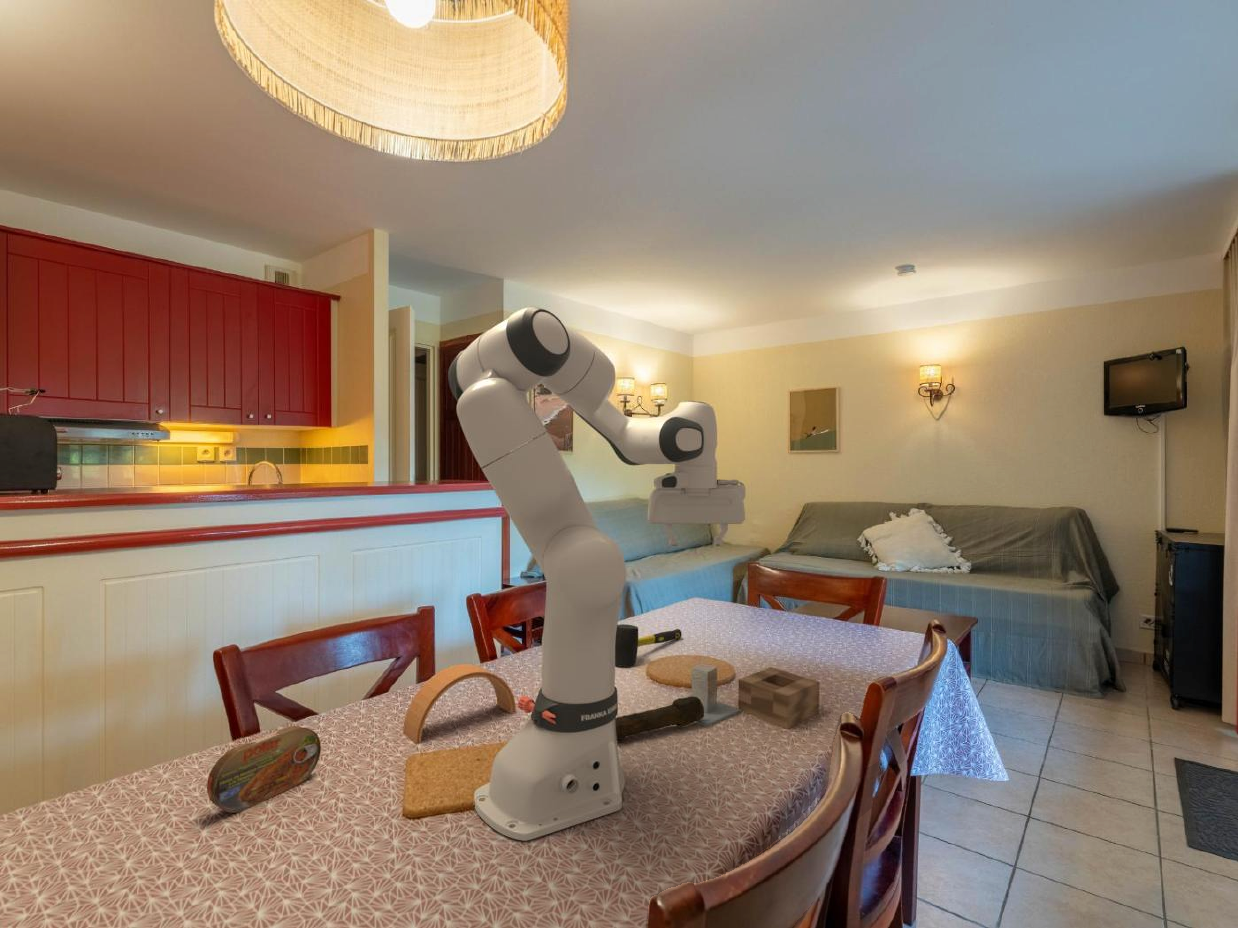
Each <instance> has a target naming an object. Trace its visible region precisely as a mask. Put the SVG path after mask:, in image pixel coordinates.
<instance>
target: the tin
mask: <svg viewBox="0 0 1238 928" xmlns="http://www.w3.org/2000/svg"><path fill="white" fill-rule="evenodd" d="M321 745H322V744H321V741H320V738H319V735H318V733H316V731H314V730H312V729H311V728H309V727H302V726H297V725H296V726H295V725H294V726H293V725H292V726H287V727H284V728H282V729H279V730H276V731H274V732H271V733H269V734H266V735H264V736H262V737H258V738H255V739H254V740H250V741H248V742H245V743H243V744H240V745H237V746H235V747H233V748H231V749H229V750H228V751H226V752H225V753H224V754H223V755H221V756H220V757H219V759H218V760H217V761H216V762H214V765H213V766H212V767H211V770H210V772H209V775H208V777H207V778H208V779H207V784H206V792H207V796H208V798H209V800H210V801H211V803H212V804H214V805H215V806H216V807H218V808H219V809H220V810H222V811H224V812H227V813H234V814H235V813H240V812H244V811H247V810H249V809H251V808H252V806H253V807H254V805H255V806H257V805H259V804H261V803H263V802H265V801H268V800H269V799H271V797H272V798H274V797H276V796H278V795H280V794H282V793H284V792H286V791H289V790H291V789H293V788H295V787H296V786H298V785H301V784H302V783H304V781H305V780H307V779H308V778H309V777H310V775H311V774H312V773H313V772H314V770H315V769H316V767H317V765H318V762H319V759H320V756H321V751H322V750H321V749H322V746H321ZM258 803H259V804H258ZM256 804H257V805H256ZM248 808H249V809H248Z"/></svg>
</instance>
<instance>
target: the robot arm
mask: <svg viewBox="0 0 1238 928" xmlns="http://www.w3.org/2000/svg"><path fill="white" fill-rule="evenodd" d="M447 377H448V378H447V380H448V384H449V385H448V386H449V388H450V391H451V393H452V395H453V397H454V398H455V400H456V402H457V404H456V414H457V418H458V421H459V423H460V427H461V430H462V432H463V434H464V437H465V439H466V441H467V444H468V446H469V448H470V450H471V453H472V454H473V457H474V458H475V460H476V462H477V463H478V466H479V467H480V468H481V471H482V472H483V474H484V476H485V477H486V480H487V481H488V482H489V484H490V486H491V487H492V489H493V491H494V493H495V494H496V496H497V498H498V499H499V501H500V503H501V505H502V507H503V508H504V509H505V511H506V513H507V514H508V517H510V520H511V521H512V523H513V524H514V527H515V528H516V530H517V531H518V533H519V535H520V536H521V538H522V540H523V541H524V544H525V545H526V547H527V549H528V550H529V552H530V554H531V555H532V556H533V558H534V560H535V562H536V564H537V565H538V567H539V568H540V570H541V572H542V574H543V575H544V578H545V585H546V587H545V589H546V590H545V591H546V594H545V608H544V609H545V610H544V621H543V631H542V635H541V636H542V637H541V688H540V689H539V691H538V693H537V696H536V698H535V700H534V699H532V698H530V697H528V695H521V697H519V700H517V708H518V709H519V710H521V711H524V713H526V714H530V713H531V714H530V719H529V720H528V721H527V722H526V723H525V724H524V725H523V726H522V727H521V728H520V729H519V731H518V732H517V733H515V735H514V736H513V737H512V738H511V739H510V740H509V741H508V742H507V743H506V744H505V745H504V746H503V747H502V749H500V750H499V751H498V753H496V755H495V757H494V760H493V763H492V766H491V773H490V778H489V782H487V783H485V784H483V785H482V786H480V787H478V788H476V790H475V791H474V794H473V802H474V801H475V807H474V809H475V812H476V813H477V814H478V816H479V817H480V818H481V819H482V820H483V821H484V822H485V823H486V824H487V825H488V826H489V827H491V828H492V829H493V830H494V831H496V832H498V833H500V834H501V835H503V836H506V837H508V838H510V839H514V840H518V841H526V842H527V841H531V840H534V839H536V838H540V837H543V836H546V835H548V834H549V835H550V834H551V833H555V832H558V831H560V830H564V829H566V828H567V829H568V828H569V827H574V826H576V825H579V824H582V823H585V822H587V821H591V820H594V819H597V818H599V817H600V818H601V817H603V816H606V815H609V814H612V813H616V812H618V811H620V810H621V809H622V808H623V798H622V793H623V792H624V789H625V786H626V779H625V776H624V773H623V769H622V765H621V759H620V754H619V753H620V752H619V748H618V747H619V746H618V741H617V737H616V723H615V718H617V717H618V713H619V711H618V709H619V703H618V701H619V699H618V698H619V696H618V688H617V687H616V686H615V685H616V665H615V641H616V630H617V625H619V624H618V622H619V618H620V611H621V604H622V597H623V590H624V588H625V584H626V581H627V565H626V561H625V558H624V554H623V553H622V550H621V548H620V546H619V545H618V543H617V542H616V541H615V540H614V539H613V538H611V537H610V536H609V535H607V534H606V533H603V531H601V529H600V528H599V527H598V525H596V523H595V520H594V519H593V516H592V515H591V513H590V511H589V509H588V507H587V505H586V503H585V501H584V499H583V497H582V494H581V492H580V490H579V487H578V486H577V482H576V481H575V478H574V476H573V474H572V472H571V470H570V469H569V467H568V465H567V464H566V461H565V460H564V458H563V456H562V455H561V453H560V451H559V449H558V448H557V446H556V444H555V442H554V441H553V439H552V437H551V436H550V434H549V432H547V431H548V430H547V429H546V427H545V425H544V423H543V422H542V421H541V419H540V418H539V416H538V414H537V413H536V412H535V410H534V409H533V407H532V406H531V405H530V403H529V402H528V395H527V394H528V393H529V392H531V391H532V390H534V389H535V388H537V387H538V386H539V385H540V384H542V386H544V387H545V388H546V389H548V390H549V391H550V392H552V393H553V394H554V395H555V396H557V397H558V398H559V399H561V400H562V401H563V402H565V403H566V404H567V405H568V406H569V407H570V409H571V410H572V411H573V412H574V413H575V414H576V415H577V416H578V417H579V418H580V419H582V421H583V422H585V423H586V424H587V425H589V427H590V428H592V429H593V430H594V431H596V432H597V433H598V434H599V435H600V436H601V437H603V439H605V441H606V442H607V443H608V444H609V446H610V447H611V448H612V450H613V452H614V453H615V454H616V456H617V457H618V459H619V460H620V461H621V462H622V463H624V464H626V465H629V466H634V467H635V466H640V465H641V466H642V465H674V472H669V473H665V474H664V475H661V476H657V477H655V478H654V479H653V486H654V487H655V488H654V489H653V490H652V491H651V493H650V495H649V499H648V505H647V520H648V522H649V523H650V524H651V525H663V527H664V530H665V532H666V534H667V536H668V537H669V541H668V543H669V546H670V547H672V546H673V547H677V546H678V537H677V536H674V535H673V534H672V533H671V531H670V530H672V528H673V527H672V526H673V525H719V529H721V530H720V532H719V533H718V535H716V536H713V544H714V546H715V547H716V546H717V547H722V546H723V538H724V537H725V535H726V533H727V532H728V529H729V525H742V524H743V523H744V522H745V520H746V510H745V509H746V508H745V503H744V499H745V497H746V486H745V485H744V483H743V482H741V481H739V480H738V479H718V462H717V458H716V450H717V446H718V425H717V417H716V413H715V410H714V408H713V406H711V405H710V404H709V403H705V402H703V401H695V400H686V401H681V402H679V404H678V405H677V407H676V408H675V409H674V410H672V411H671V412H669V413H666V414H664V415H662V416H661V415H660V416H654V417H632V416H627V415H625V414H624V413H623V412H622V411H621V410H619V409H618V408H617V407H616V406H615V405H614V404H613V403H612V402H611V401H610V400H609V398H610V396H611V394H612V393H613V390H614V388H615V385H616V370H615V365H614V364H613V363H612V360H610V358H609V357H608V356H607V355H606V354H605V353H604V351H602V350H601V349H600V348H598V347H597V346H596V345H595V344H594V343H593V342H591V341H590V340H589V339H588V338H586V337H585V336H584V335H582V334H581V333H579V332H578V331H577V330H575V329H573V328H571V327H570V326H568V325H567V324H565V323H564V322H562V321H561V320H560V319H559V317H558V316H556V315H555V314H554V313H552V312H551V311H549V310H548V309H544V308H541V307H537V306H529V307H525V308H522V309H520V310H517V311H515V312H513V313H512V314H511V315H509V317H508V318H507V319H505V320H503V321H502V322H499V323H498V324H496V325H495V326H494V327H491V328H490V329H488V330H485V331H484V332H482V333H481V334H480V335H479V336H478V337H477V338H476V339H475V340H473V341H472V342H471V343H470V344H469V345H468V346H467V347H466V348H465V349H464V350H461V351H460V352H459V353H458V354H456V357H454V359H453V361H452V362H451V364H450V366H449V368H448V373H447ZM481 799H484V801H479V800H481Z"/></svg>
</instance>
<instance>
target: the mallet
mask: <svg viewBox="0 0 1238 928" xmlns="http://www.w3.org/2000/svg"><path fill="white" fill-rule="evenodd" d="M682 636H683V633H682V631H681V629H679V628H676V629H674V630H667V631H661V632H658V633H654V634H651V635H647V636H642V637H639V627H638V626H636V625H633V624H623V623H622V624H617V630H616V641H615V666H620V667H628V668H629V667H633V666H636V663H637V662H636V661H637V657H638V650H639V649H638V648H639V647H642V646H648V645H654V644H662V643H667V642H670V641H674V640H676V641H677V640H680V639H681V638H682Z"/></svg>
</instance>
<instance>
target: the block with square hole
mask: <svg viewBox="0 0 1238 928" xmlns="http://www.w3.org/2000/svg"><path fill="white" fill-rule="evenodd" d="M737 691H738V693H737V694H738V696H737V697H738V701H737V702H738V705H737V708H738V709H741V712H743V713H746V714H748V715H750V716H753V717H756V718H758V719H760V720H763V721H765V722H769V723H771V724H774V725H776V726H779V727H780V728H784V729H785V730H787V729H789V728H792V727H793V726H796V725H798V724H799V723H802V722H803V721H806V720H807V719H810V718H811V717H813V716H815V715H817V714H819V713H820V681H817V680H814V679H811V678H807V677H805V676H801V675H797V674H796V673H795V674H794V673H792V672H789V671H785V670H781V669H779V668H776V667H773V666H770V667H768V668H765V669H763V670H759V671H757V672H754V673H752V674H749V675H747V676H744V677H741V678H739V679H738V690H737Z"/></svg>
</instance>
